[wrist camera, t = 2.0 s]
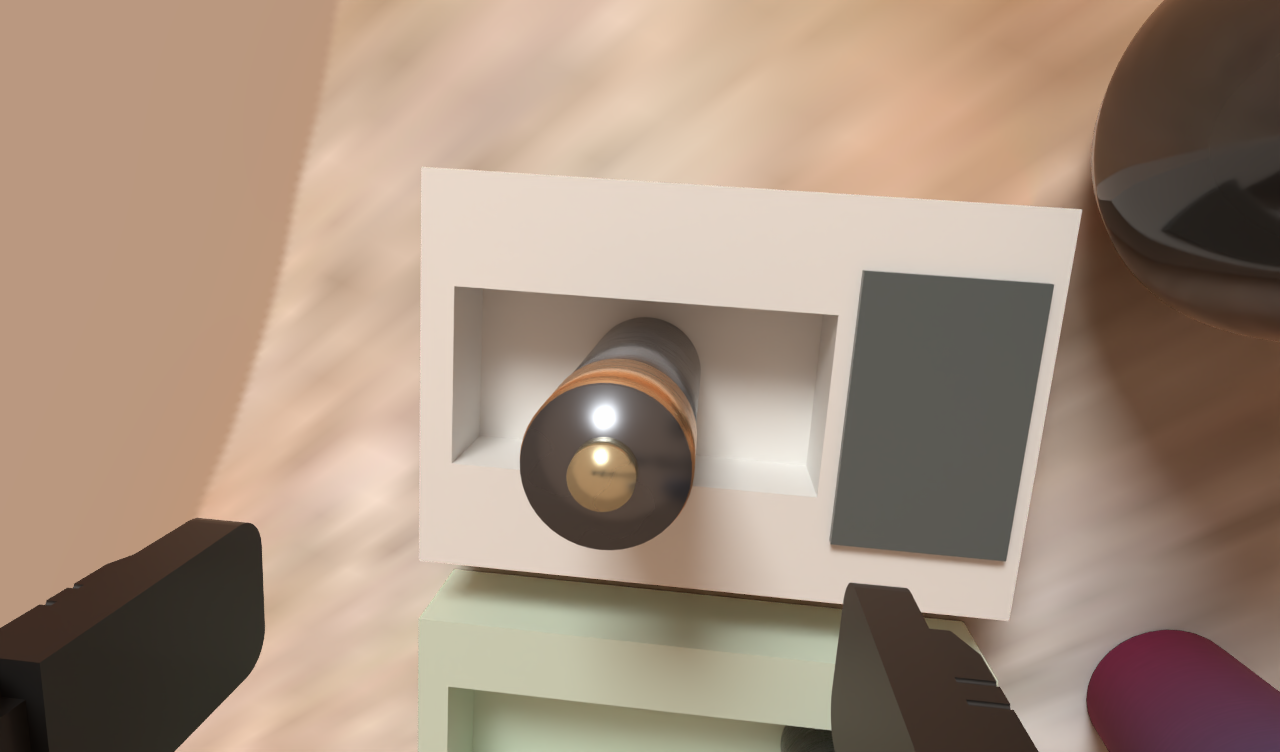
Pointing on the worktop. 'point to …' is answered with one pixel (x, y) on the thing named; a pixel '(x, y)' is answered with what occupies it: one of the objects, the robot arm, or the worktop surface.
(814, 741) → the cell
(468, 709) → the trough rack
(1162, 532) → the worktop surface
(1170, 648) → the cup
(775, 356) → the battery tester
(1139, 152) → the black tapered dome
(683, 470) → the cell
